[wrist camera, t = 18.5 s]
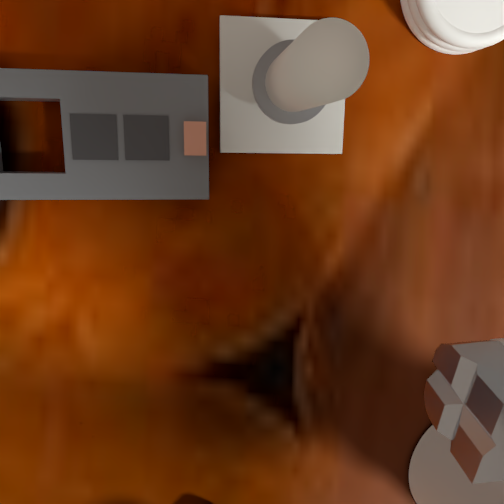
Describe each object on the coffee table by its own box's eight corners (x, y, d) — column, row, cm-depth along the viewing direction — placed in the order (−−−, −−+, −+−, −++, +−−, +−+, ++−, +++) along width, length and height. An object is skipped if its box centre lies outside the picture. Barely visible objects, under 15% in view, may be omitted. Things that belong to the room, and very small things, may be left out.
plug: (320, 51, 35) (389, 3, 23) (315, 126, 37) (378, 119, 24) (248, 47, 35) (279, -5, 22) (246, 124, 36) (274, 115, 23)
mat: (346, 23, 36) (349, 21, 35) (339, 153, 38) (342, 153, 37) (219, 17, 34) (219, 15, 34) (220, 152, 37) (220, 152, 36)
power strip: (206, 79, 35) (208, 73, 32) (207, 196, 37) (209, 200, 34) (-43, 71, 33) (-68, 63, 30) (-27, 196, 35) (-49, 201, 32)
